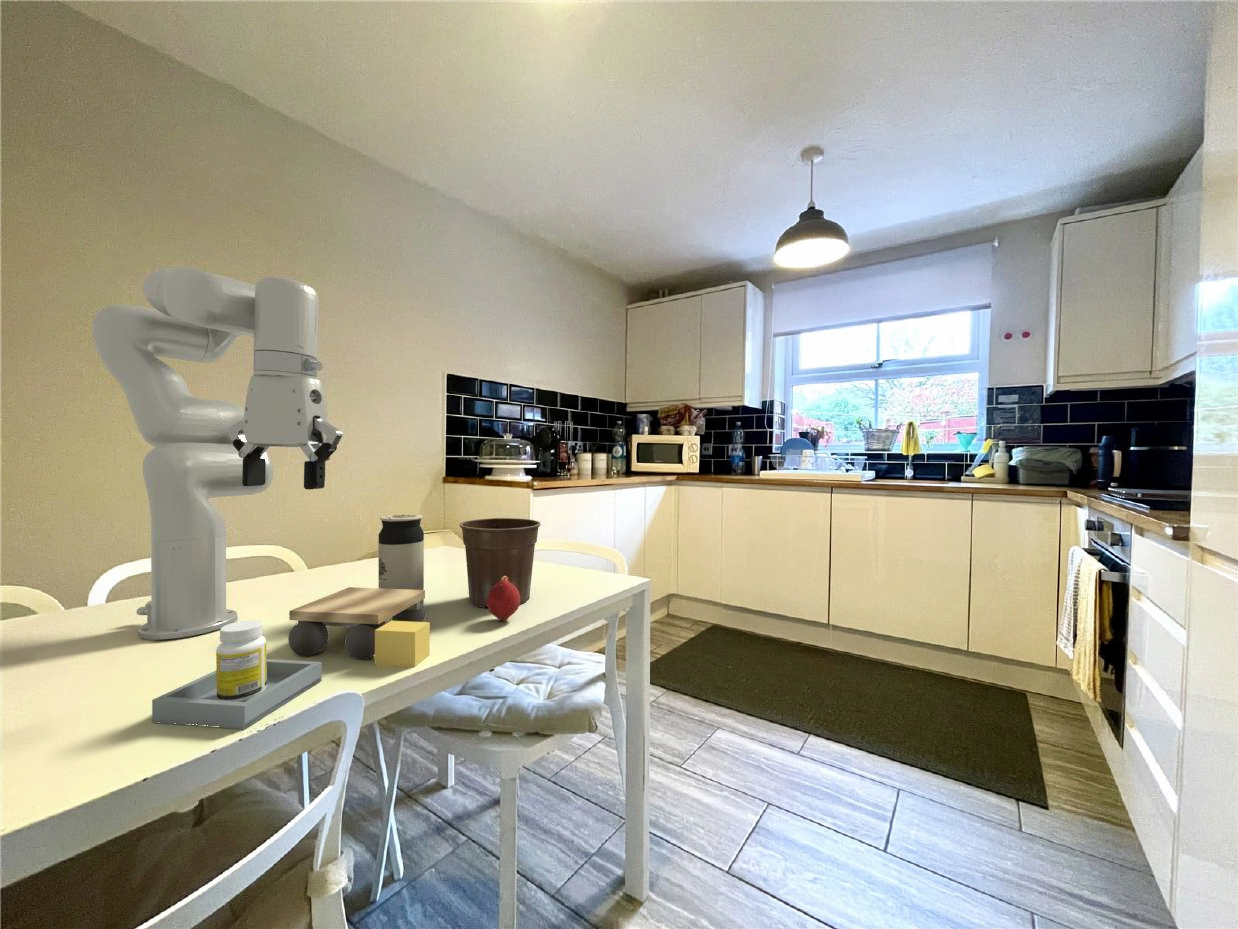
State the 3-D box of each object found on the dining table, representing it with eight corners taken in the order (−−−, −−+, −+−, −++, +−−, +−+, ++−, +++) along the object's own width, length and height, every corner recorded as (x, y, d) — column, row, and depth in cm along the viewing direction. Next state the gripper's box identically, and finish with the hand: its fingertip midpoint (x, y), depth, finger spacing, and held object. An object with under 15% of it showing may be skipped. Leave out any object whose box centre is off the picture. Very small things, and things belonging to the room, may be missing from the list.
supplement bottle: (235, 685, 59) (235, 619, 59) (275, 684, 60) (275, 618, 59) (205, 705, 54) (205, 632, 54) (249, 704, 55) (249, 632, 55)
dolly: (288, 655, 70) (288, 611, 70) (349, 624, 83) (349, 587, 83) (377, 660, 68) (377, 615, 68) (425, 628, 81) (425, 589, 81)
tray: (152, 722, 52) (152, 700, 52) (243, 676, 63) (243, 657, 63) (244, 729, 51) (244, 706, 51) (321, 681, 62) (321, 662, 62)
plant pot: (556, 599, 99) (556, 522, 98) (489, 618, 86) (489, 530, 86) (509, 585, 109) (510, 516, 109) (444, 601, 97) (444, 522, 97)
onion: (511, 627, 82) (511, 581, 82) (481, 625, 83) (481, 579, 83) (525, 616, 88) (525, 573, 88) (496, 614, 89) (496, 572, 89)
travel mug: (421, 600, 97) (422, 513, 97) (425, 611, 90) (425, 517, 90) (378, 606, 93) (378, 515, 93) (378, 618, 86) (378, 519, 86)
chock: (374, 665, 67) (374, 630, 67) (391, 654, 71) (391, 620, 71) (415, 667, 66) (415, 632, 66) (429, 656, 70) (429, 622, 70)
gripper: (359, 374, 71) (356, 488, 71) (255, 372, 73) (253, 482, 73) (321, 364, 63) (318, 492, 64) (207, 363, 66) (205, 486, 66)
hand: (283, 487), depth 69 cm, fingers open, 9 cm apart
